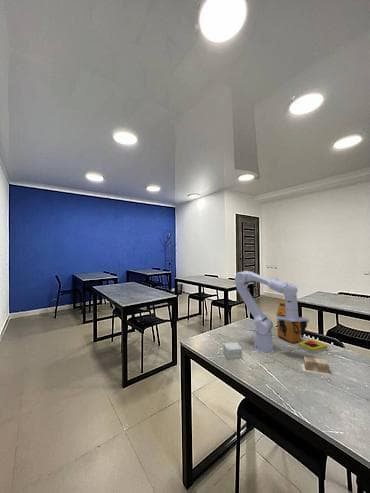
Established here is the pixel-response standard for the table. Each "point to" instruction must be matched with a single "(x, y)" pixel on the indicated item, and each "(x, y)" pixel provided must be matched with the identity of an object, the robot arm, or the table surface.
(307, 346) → the emergency button
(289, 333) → the coffee package
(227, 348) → the small box
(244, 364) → the table surface
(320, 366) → the wooden block
